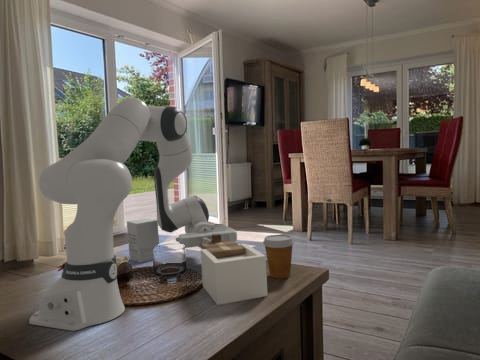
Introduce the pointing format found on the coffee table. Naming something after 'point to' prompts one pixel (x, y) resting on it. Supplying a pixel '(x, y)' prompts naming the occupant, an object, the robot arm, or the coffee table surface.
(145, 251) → the supplement box
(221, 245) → the lid
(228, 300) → the box
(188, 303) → the coffee table surface
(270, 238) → the disposable coffee cup
